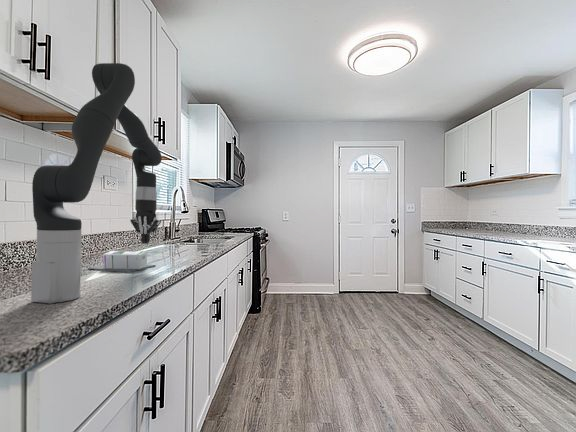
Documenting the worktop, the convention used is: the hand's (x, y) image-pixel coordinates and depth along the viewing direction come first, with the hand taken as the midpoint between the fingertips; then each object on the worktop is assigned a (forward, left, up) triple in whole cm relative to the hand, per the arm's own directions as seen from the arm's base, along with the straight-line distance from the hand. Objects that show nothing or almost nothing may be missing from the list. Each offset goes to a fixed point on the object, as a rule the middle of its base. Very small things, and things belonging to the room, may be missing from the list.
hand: (145, 243), depth 130 cm
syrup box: (-1, -1, -6) cm, 7 cm away
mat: (0, +10, -10) cm, 14 cm away
